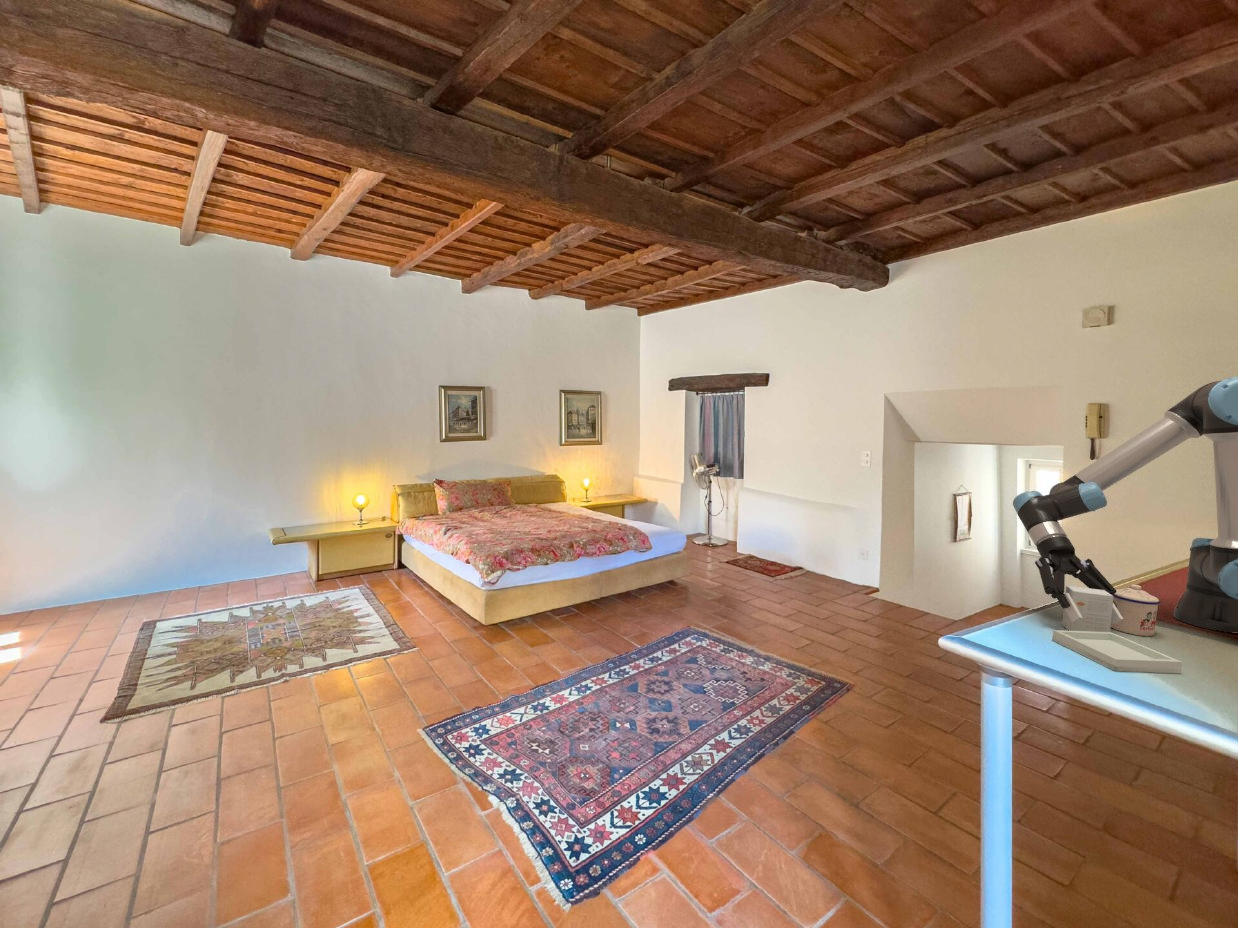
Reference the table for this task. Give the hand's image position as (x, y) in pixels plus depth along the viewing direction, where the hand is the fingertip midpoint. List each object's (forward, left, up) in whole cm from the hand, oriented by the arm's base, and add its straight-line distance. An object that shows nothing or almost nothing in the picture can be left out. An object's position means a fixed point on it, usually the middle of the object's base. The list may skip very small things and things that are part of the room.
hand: (1097, 620), depth 132 cm
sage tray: (+7, +12, -4) cm, 14 cm away
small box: (0, -3, -4) cm, 5 cm away
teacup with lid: (-15, -6, -4) cm, 17 cm away
